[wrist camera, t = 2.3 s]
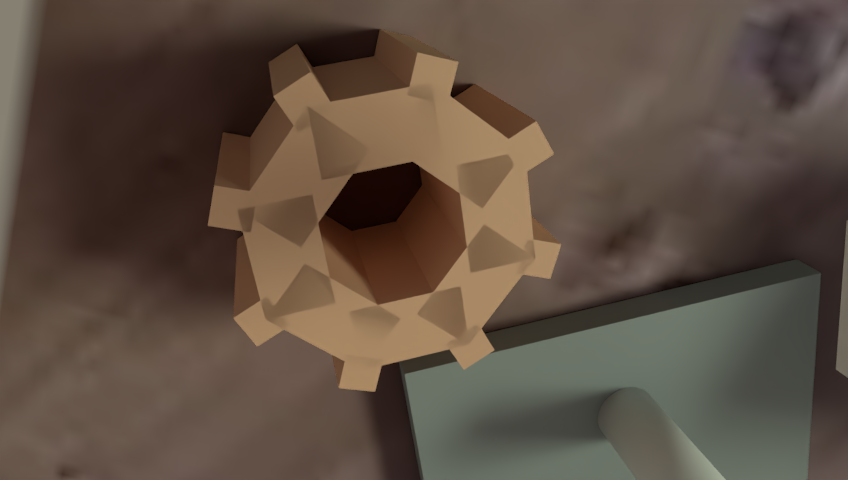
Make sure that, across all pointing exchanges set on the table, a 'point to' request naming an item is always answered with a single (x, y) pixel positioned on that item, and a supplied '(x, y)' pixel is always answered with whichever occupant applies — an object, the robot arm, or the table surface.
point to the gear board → (635, 340)
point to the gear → (388, 243)
